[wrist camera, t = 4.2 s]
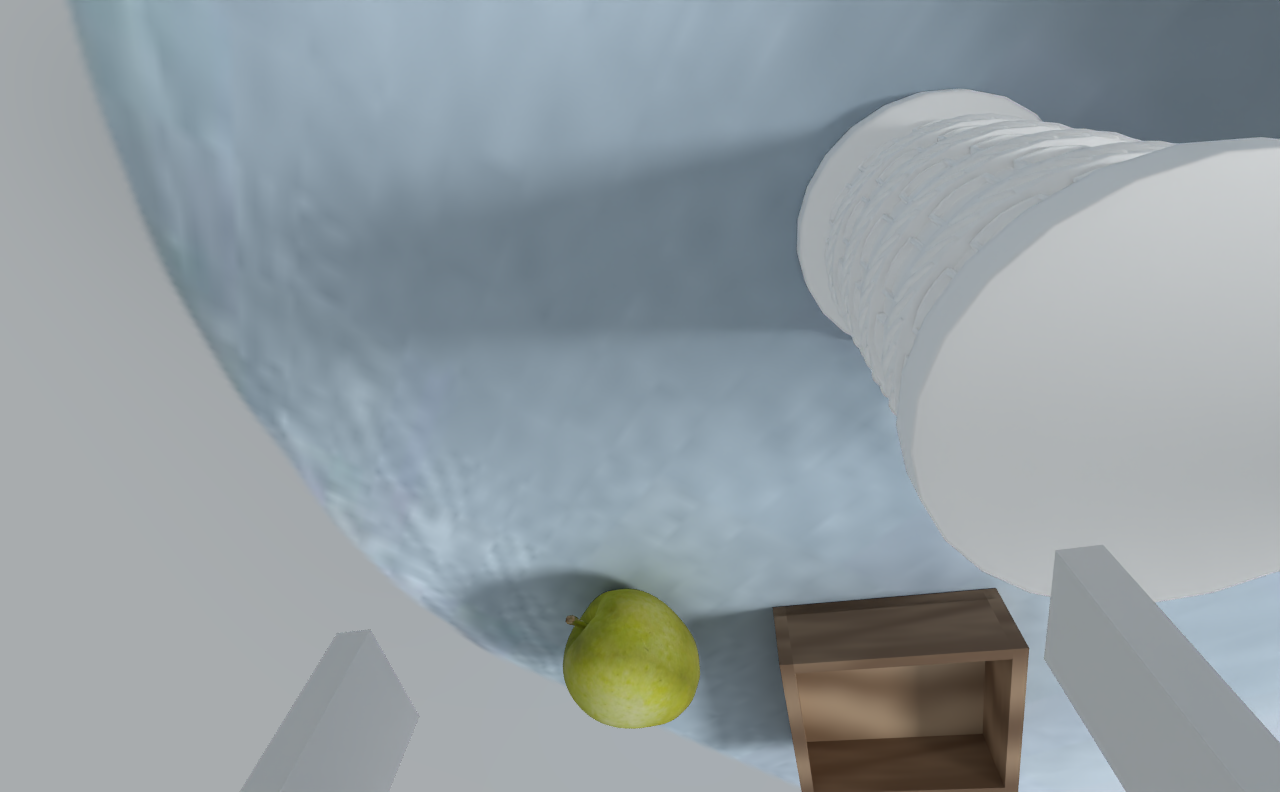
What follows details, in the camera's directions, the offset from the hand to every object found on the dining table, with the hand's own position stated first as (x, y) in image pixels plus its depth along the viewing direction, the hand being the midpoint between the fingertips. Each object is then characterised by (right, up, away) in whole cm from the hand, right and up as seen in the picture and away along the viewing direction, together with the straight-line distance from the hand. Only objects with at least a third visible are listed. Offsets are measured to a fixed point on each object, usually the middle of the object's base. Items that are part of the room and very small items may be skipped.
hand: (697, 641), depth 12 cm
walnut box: (+16, -14, +30) cm, 37 cm away
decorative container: (+12, +13, +17) cm, 24 cm away
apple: (-2, -9, +30) cm, 32 cm away
